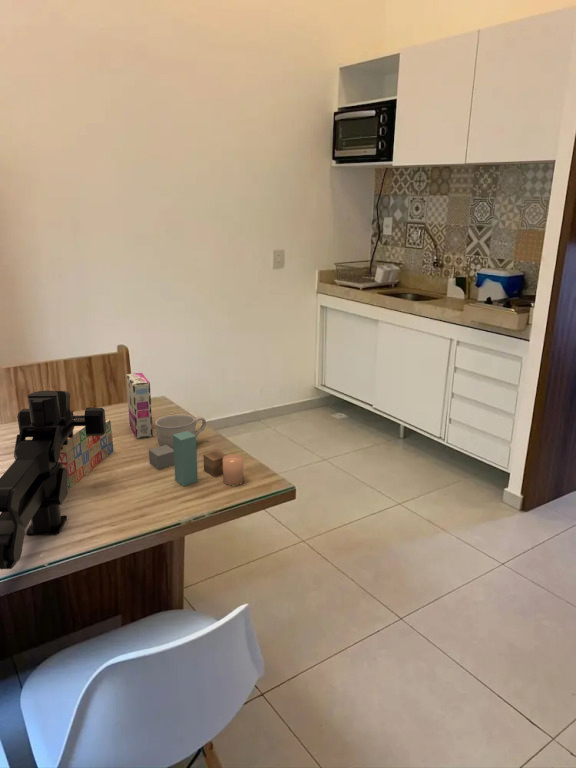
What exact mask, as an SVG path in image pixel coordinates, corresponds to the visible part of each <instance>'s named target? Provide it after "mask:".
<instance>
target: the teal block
mask: <svg viewBox="0 0 576 768" xmlns="http://www.w3.org/2000/svg"><path fill="white" fill-rule="evenodd" d="M197 449H198V448H197V437H196V436H195V435H194V434H192V433H190V432H189V431H185V432H181V433H178V434H174V435H173V451H174V466H173V467H174V481H176V482H177V483H178V484H179V485H180V486H182V487H186V486H189V485H192V484H195V483H198V482H199V479H198V478H199V475H198V450H197Z"/></svg>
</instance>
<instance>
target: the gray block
mask: <svg viewBox="0 0 576 768" xmlns="http://www.w3.org/2000/svg"><path fill="white" fill-rule="evenodd" d="M148 459H149V464H150V465H151V466H153V467H154V468H155V469H157V471H161V470H164V469H166V468H171V467H174V451H173V449H172V448H170V447H169V446H167V445H163V446H161V445H160V446H157V447H153V448H150V449H148Z"/></svg>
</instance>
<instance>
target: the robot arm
mask: <svg viewBox="0 0 576 768" xmlns="http://www.w3.org/2000/svg"><path fill="white" fill-rule="evenodd" d="M27 401H28V408H23V409H21V410H20V411H19V412H18V413H17V423H18V430H19V434H17V435H16V438H15V445H14V452H13V457H14V459H15V460H14V461H13V462H12V464H11V465H10V466H9V467H8V468H7V469H6V471H4V473H3V474H2V475H1V477H0V570H12V569H13V568H15V566H16V565H17V563H18V562H19V561H20V559H21V556H22V552H23V546H24V539H25V534H26V535H27V536H35V535H36V536H41V535H42V536H43V535H58V534H60V532H61V530H62V528H63V526H64V525H65V523H66V521H67V520H68V517H67V515H62V514H61V513H62V512H61V507H60V506H61V505H63V504H64V501H65V499H66V497H67V496H68V494H69V493H68V489H69V487H68V474H67V469H66V468H63V467H62V463H61V462H59V463H58V461H59V458H60V448H61V446H62V445H67V444H68V438H72V437H73V429H74V426H85V427H86V434H87V436H103V435H104V434H105V432H106V412H105V409H104V408H103V407H94V406H93V407H91V406H90V407H86V408H85V410H84V414H81V415H80V414H78V415H76V414H74V411H73V410H71V394H70V392H69V391H67V390H47V389H46V390H39V391H35V392H31V393H29V394H28V395H27ZM26 438H32V439H26ZM29 524H30V525H29ZM28 526H29V527H28ZM27 527H28V528H27ZM26 528H27V530H26Z"/></svg>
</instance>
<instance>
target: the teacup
mask: <svg viewBox="0 0 576 768" xmlns="http://www.w3.org/2000/svg"><path fill="white" fill-rule="evenodd" d="M199 421H201V422H202V425H200V427H199V428H198V429H196V426H197V423H198V422H199ZM154 424H155V429H156V432H155V433H156V438H157V439H156V440H157V442H158V444H159V445H160V446H163V445H167V446H169V447H170V448H172V449H173V435H174V434H178V433H181V432H185V431H189V432H190V433H192V434H194V435H195V436H196V438H197V436H198V435H199V434H201V433H202V432H203V431H204V430H205V429H206V426H207V419H205V418H204V417H203V416H197V417H194V416H193V415H189V414H184V413H183V414H181V413H179V414H178V413H177V414H169V415H164V416H161V417H159V418H157V420H155V421H154Z"/></svg>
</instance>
